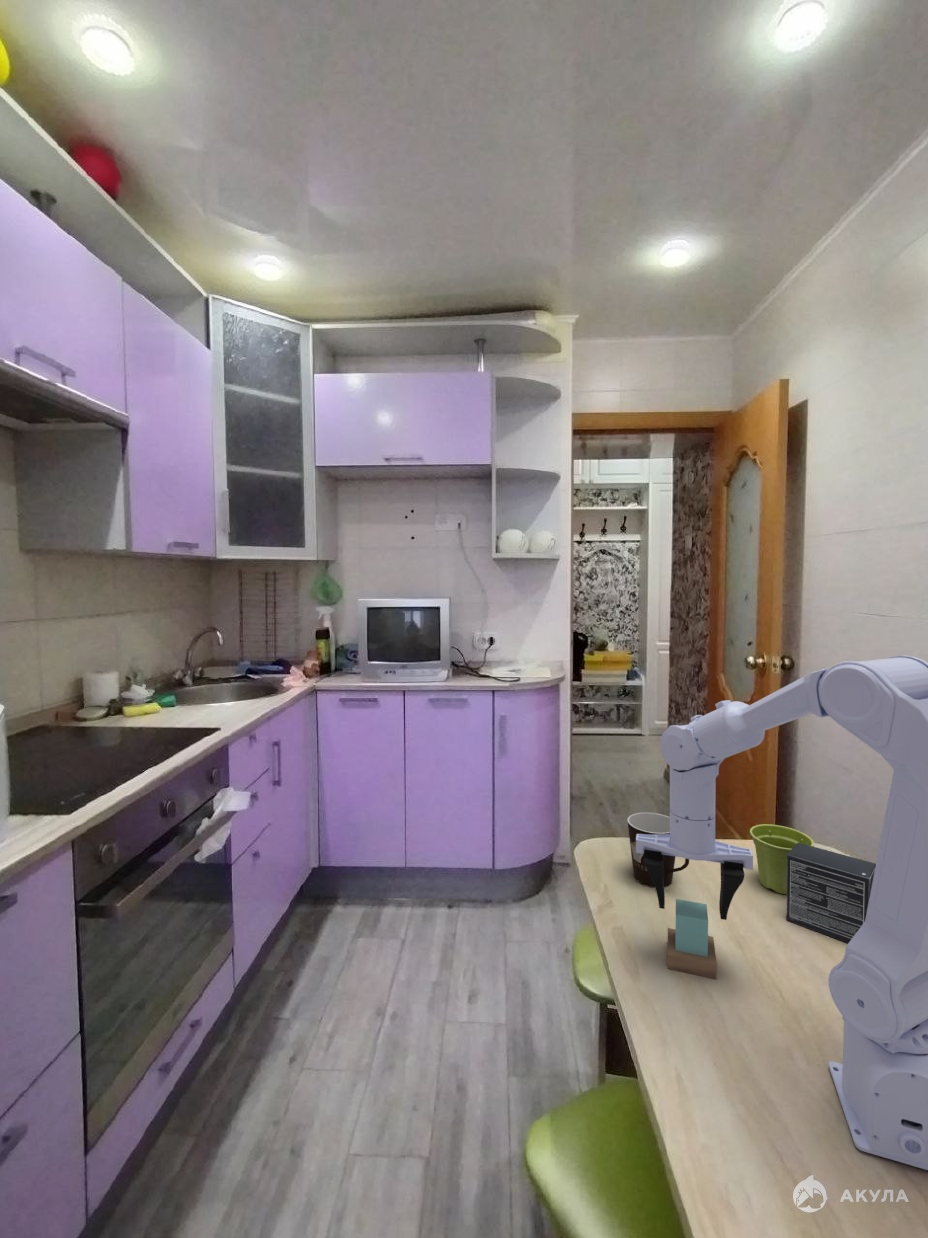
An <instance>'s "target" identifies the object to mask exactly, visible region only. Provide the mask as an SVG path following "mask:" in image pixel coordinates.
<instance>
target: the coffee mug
mask: <svg viewBox="0 0 928 1238" xmlns="http://www.w3.org/2000/svg"><path fill="white" fill-rule="evenodd" d="M627 829H628V836H629V846H630V853H631V863H632V872H633V877H634V879H635V881H636V882H638V883H639V884H641V885H643V886H646V887H649V888H653V889H655V886H654V883H653V881H652V878H651V876H650V874H649V872H648V870H647V869H646V866H645V863H644V854H641V853H636V835H637V834H645V835H667V834H670V816H669V815H668V816H667V815H665V814H661V813H656V812H645V811H644V812H635V813H632V814H631V815H629V816H628V817H627ZM675 862H676V856H670V855H663V880H664V888H667V887H669V886H671V885H672V883H673V878H674V877H673V876H674V873H678V872H680V871H684V870H685V869H686V868H687V867H688V866H689V864H690V859H686V858H684V863H683V864H682V865H681V866H680V867H676V868H675Z"/></svg>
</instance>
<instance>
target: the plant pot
mask: <svg viewBox="0 0 928 1238" xmlns="http://www.w3.org/2000/svg"><path fill="white" fill-rule="evenodd" d="M749 834H750V836H751V837H752V841H753V844H754V846H755V852H756V853H755V855H756V860H757V869H758V870H757V871H758V879H759V883H760V884H761V885H762V886H763V887H765V888H766V889H770V890H772V891H774V892H776V893H778V894H782V895H787V876H788V874H787V871H788V866H787V864H788V861H787V854H788V853H789V852H790V851H791V849H792V848H793V847H794V846H795V845H796V844H797V843H802V844H806V845H809V846H813V847H815V842H814V840H813V839H812V837H810V836H809V835H808V834H805V833H804V832H802V831H800V830H797V829H794V828H791V827H787V826H783V825H778V824H772V823H770V824H768V823H767V824H766V823H765V824H764V823H763V824H756V825H754V826H752V827H751V828H749Z"/></svg>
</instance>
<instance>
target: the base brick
mask: <svg viewBox="0 0 928 1238" xmlns="http://www.w3.org/2000/svg"><path fill="white" fill-rule="evenodd" d="M675 932H676V928H669V927H667V969H668V970H672V971H676V972H681V973H687V974H689V975H691V974H692V975H695V976H700V977H704V978H709V979H714V980H717V977H718V976H717V975H718V974H717V973H718V969H717V968H718V964H717V954H716V946H715V940H714V936H713V935H711V936H710V935H708V957H705V956H700V955H695V954H691V953H686V952H681V951H677V950H675Z"/></svg>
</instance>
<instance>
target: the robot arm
mask: <svg viewBox="0 0 928 1238" xmlns="http://www.w3.org/2000/svg"><path fill="white" fill-rule="evenodd" d="M714 705H715V707H716V709H715V710H713V711H710V712H708V713H706V714H704V715H702V714H697V715H694V716H691V717H690V721H691V722H689V723H688V724H683V725H676V724H673V725H670V726H668V728H667V729H665V730H664V731H663V732H662V734H661V736H660V740H659V741H660V742H659V745H660V747H659V748H660V751H661V755H662V757H663V759H664V761H665V762H666V763H667V765H668V766H669V817H670V834H667V835H645V834H637V835H636V853H641V854H644V863H645V866H646V869H647V870H648V872H649V874H650V876H651V878H652V881H653V883H654V886H655V888H654V889H655V892H656V897H657V900H658V908H659V909H662V910H665V908H666V907H665V906H666V905H665V904H666V903H665V902H666V900H665V898H666V897H665V896H666V893H665V887H664V880H663V855H670V856H675V857H676V858H677V857H678V858H683V859H685V858H686V859H689V860H692V861H700V862H701V861H705V862H706V861H707V862H712V863H720V864H719V865H720V890H719V901H718V902H719V903H718V905H719V909H718V910H719V916H720V917H719V918H720V920H724V921H726V920H727V918H728V914H729V913H728V912H729V909H730V906H731V903H732V900H733V898H734V896H735V894H736V893H737V890H738V889H739V888H740V887H741V885H742V884H743V882H744V880H745V871H744V869H745V870H752V871H753V869H754V854H753V852H752V849H751V848H746V847H742V846H741V847H740V846H737V845H734V844H729V843H725V842H722V841H718V840H716V799H717V797H716V795H717V794H716V792H717V791H716V783H717V781H716V778H718V776H720V775H719V773H720V772H719V771H720V769H719V768H720V765H721V764H722V763H723V761H724V760H725V759H727V758H730V757H732V756H734V755H737V754H739V753H742V752H745V751H747V750H750V749H753V748H756V747H757V746H759V745H761V744H762V743H763V741H764V739H765V736H766V735H765V733H766V731H767V730H770V729H772V728H776V727H779V726H782V725H785V724H786V723H789V722H793V721H795V720H799V719H801V718H804V717H806V716H809V715H812V714H813V715H815V716H816V717H819V718H826V717H830V718H831V719H832V720H833V721H834V722H836V723H837V724H838V725H839V726H840V727H842V728H844V729H845V730H846V731H848V733H850V734H852V735H853V736H855V737H856V738H857V739H859V740H860V741H861V742H862V743H864V744H865V745H867V746H868V747H870V749H872V750H874V751H875V752H876V753H878V754H879V755H880V756H882V758H883V759H884V760H885V761H886V762H887V763H888V765H889V766H890V767H891V769H892V770H893V773H892V778H891V779H892V780H891V784H890V790H889V795H888V801H887V804H886V805H887V806H886V810H885V815H884V821H883V825H882V832H881V835H880V841H879V846H878V847H879V848H878V852H877V857H876V863H875V864H876V867H875V872H874V877H873V882H872V887H871V893H870V898H869V903H868V908H867V914H866V919H865V922H864V923H863V925H862V926H861V927H860V929H859V930H858V931H857V933H856V934H855V935H854V936H853V938H852V939H851V941H850V942H849V943H847V945H846V947H845V952H844V956H843V958H842V960H841V961H840V962H839V963H838V964H836V965H834V966H833V967H832V969H831V970H830V972H829V973H828V974H829V975H828V989H829V992H830V995H831V999H832V1000H833V1003H834V1004H835V1006H836V1008H837V1010H838V1012H839V1013H840V1015H841V1017H842V1018H841V1019H842V1020H843V1027H842V1028H843V1031H842V1032H843V1033H842V1034H843V1035H842V1063H839V1062H836V1061H829V1062H828V1069H829V1072H830V1074H831V1078H832V1080H833V1084H834V1087H835V1089H836V1093H837V1095H838V1099H839V1103H840V1104H841V1107H842V1110H843V1113H844V1117H845V1119H846V1122H847V1125H848V1128H849V1132H850V1135H851V1136H852V1137H851V1138H852V1140H853V1144H854V1146H855V1147H856V1148H857V1149H858V1150H859V1151H861V1152H865V1153H868V1154H871V1155H875V1156H878V1157H882V1158H885V1159H889V1160H892V1161H896V1162H899V1163H902V1164H905V1165H907V1166H908V1165H909V1166H912V1167H915V1168H919V1169H923V1170H926V1171H928V661H925V660H924V659H921V658H919V657H916V656H912V655H894V656H890V657H887V658H880V659H870V660H861V661H857V660H847V661H846V660H845V661H841V662H838V663H835V664H833V665H831V666H830V667H829V668H823V669H819V670H816V671H812V672H810V673H808V674H806V675H804V676H802V677H801V678H798V679H796V680H794V681H793V682H791V683H789V684H787V685H785V686H783V687H781V688H780V689H777V690H776V691H774V692H772V693H770V694H768V695H766V696H765V697H763V698H760V699H759V700H757V701H755V702H754V703H752V704H750V705H749V704H747V703H745V702H742V701H738V700H737V701H736V700H734V701H731V699H728V700H727V699H726V700H721V701H719V702H717V703H715V704H714Z"/></svg>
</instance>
